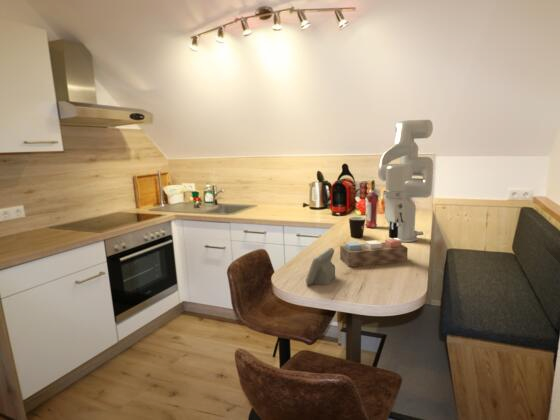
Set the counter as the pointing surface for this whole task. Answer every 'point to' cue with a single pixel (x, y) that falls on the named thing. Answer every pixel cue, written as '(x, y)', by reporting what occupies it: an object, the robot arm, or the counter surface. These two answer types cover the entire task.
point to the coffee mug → (356, 226)
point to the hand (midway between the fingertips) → (393, 237)
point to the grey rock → (322, 268)
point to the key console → (373, 255)
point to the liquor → (371, 207)
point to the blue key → (353, 246)
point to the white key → (373, 244)
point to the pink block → (393, 243)
